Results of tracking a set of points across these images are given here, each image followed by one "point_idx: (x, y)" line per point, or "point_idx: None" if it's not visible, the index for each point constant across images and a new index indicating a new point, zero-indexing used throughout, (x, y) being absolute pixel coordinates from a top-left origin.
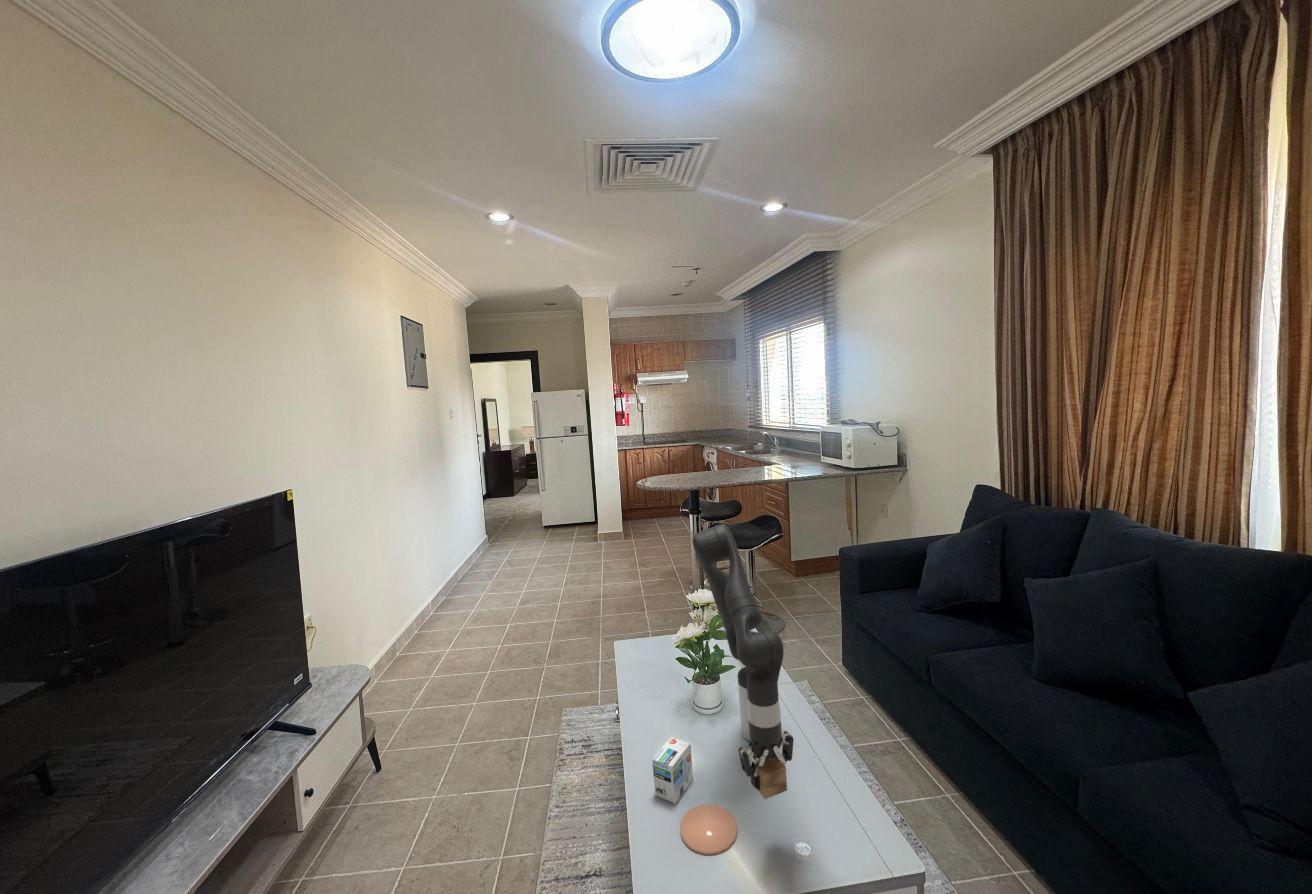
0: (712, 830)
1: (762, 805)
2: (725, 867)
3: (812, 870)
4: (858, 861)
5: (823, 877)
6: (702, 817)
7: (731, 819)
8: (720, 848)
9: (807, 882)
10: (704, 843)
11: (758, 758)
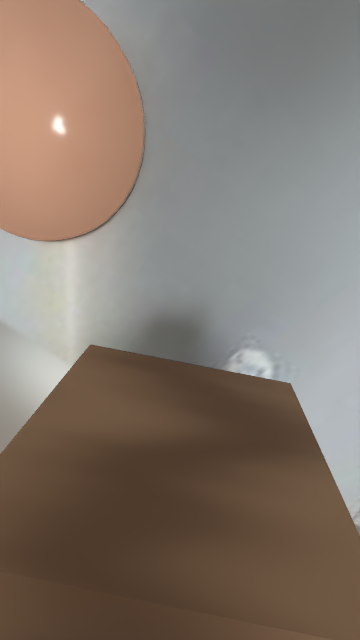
0: (35, 154)
1: (285, 161)
2: (22, 284)
3: None
4: None
5: None
6: (29, 65)
7: (126, 156)
8: (26, 237)
9: None
10: None
11: (66, 631)
